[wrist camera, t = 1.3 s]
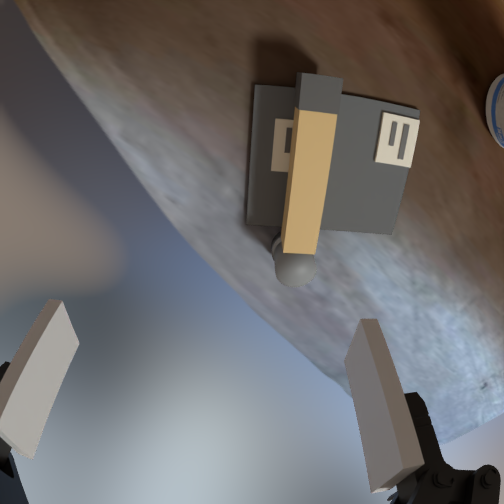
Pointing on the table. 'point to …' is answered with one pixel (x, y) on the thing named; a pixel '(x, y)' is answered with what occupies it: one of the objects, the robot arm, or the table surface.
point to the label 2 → (396, 140)
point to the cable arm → (307, 176)
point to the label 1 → (282, 145)
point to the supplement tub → (496, 109)
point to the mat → (341, 167)
